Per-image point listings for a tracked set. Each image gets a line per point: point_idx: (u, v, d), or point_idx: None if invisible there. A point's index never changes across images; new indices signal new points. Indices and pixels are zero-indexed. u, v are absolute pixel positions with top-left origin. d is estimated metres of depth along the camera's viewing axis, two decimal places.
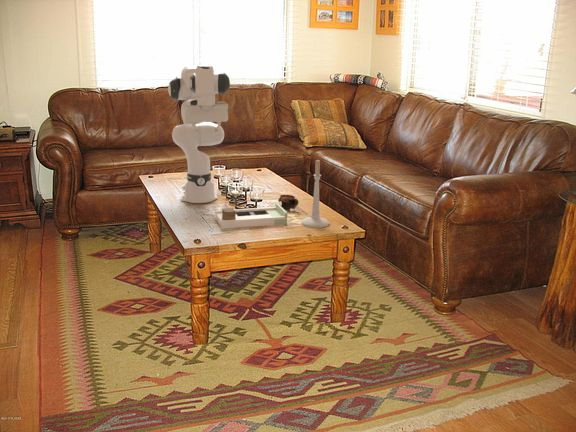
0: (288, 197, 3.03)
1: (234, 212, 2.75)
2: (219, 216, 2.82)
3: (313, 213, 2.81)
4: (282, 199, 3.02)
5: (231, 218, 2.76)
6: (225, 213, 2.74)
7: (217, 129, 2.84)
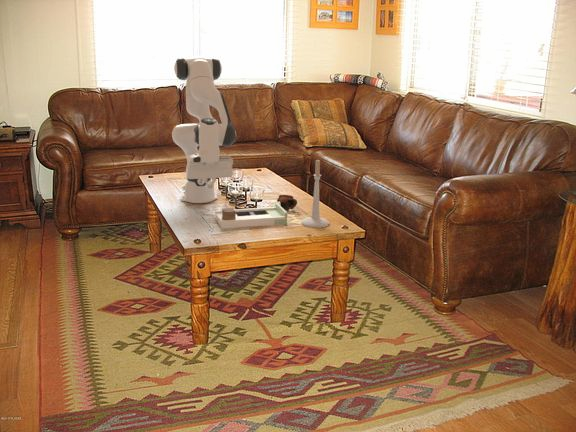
0: (287, 197, 3.02)
1: (234, 212, 2.75)
2: (219, 216, 2.82)
3: (313, 213, 2.81)
4: (281, 199, 3.02)
5: (231, 218, 2.76)
6: (225, 213, 2.74)
7: (212, 185, 2.70)
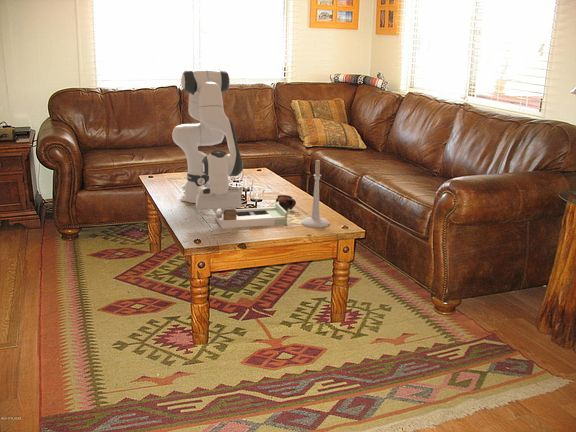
0: (285, 197, 3.02)
1: (235, 212, 2.75)
2: None
3: (313, 213, 2.81)
4: (279, 199, 3.01)
5: (232, 218, 2.76)
6: (226, 213, 2.74)
7: (221, 215, 2.76)
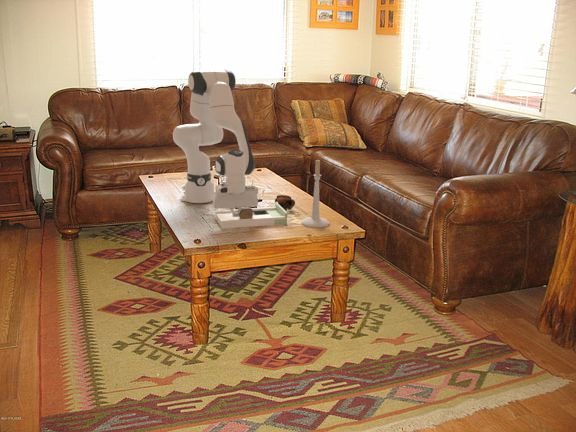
0: (284, 198, 3.02)
1: (251, 211, 2.77)
2: (219, 216, 2.82)
3: (313, 213, 2.81)
4: (278, 200, 3.01)
5: (248, 217, 2.78)
6: (242, 212, 2.76)
7: (237, 214, 2.78)
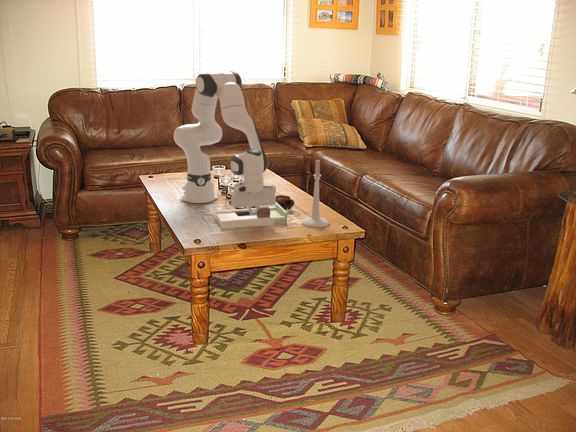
0: (284, 198, 3.01)
1: (269, 210, 2.80)
2: (219, 216, 2.82)
3: (313, 213, 2.81)
4: (278, 200, 3.01)
5: (266, 216, 2.80)
6: (260, 211, 2.79)
7: (255, 213, 2.80)
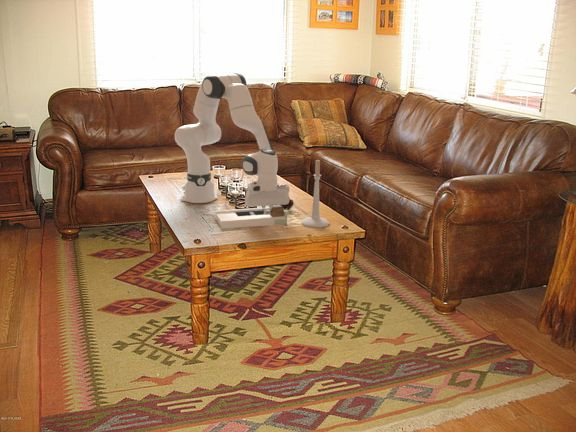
0: None
1: (282, 209, 2.82)
2: (219, 216, 2.82)
3: (313, 213, 2.81)
4: None
5: (279, 215, 2.82)
6: (274, 210, 2.80)
7: (269, 212, 2.82)
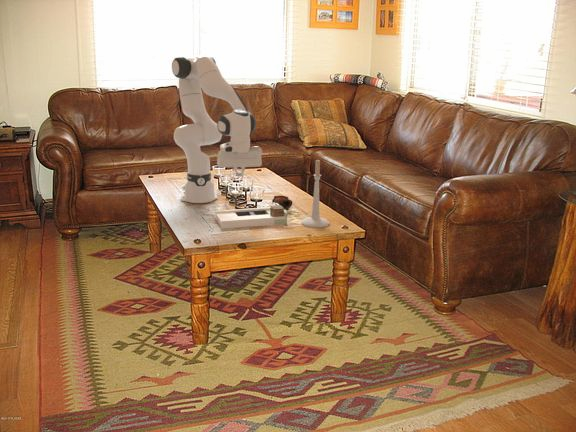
0: (282, 198, 3.01)
1: (282, 209, 2.82)
2: (219, 216, 2.82)
3: (313, 213, 2.81)
4: (276, 200, 3.00)
5: (279, 215, 2.82)
6: (274, 210, 2.80)
7: (241, 174, 2.82)
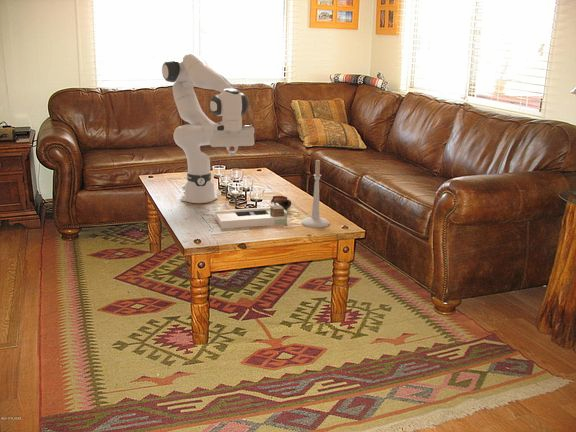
0: (281, 198, 3.00)
1: (282, 209, 2.82)
2: (219, 216, 2.82)
3: (313, 213, 2.81)
4: (275, 200, 3.00)
5: (279, 215, 2.82)
6: (274, 210, 2.80)
7: (234, 153, 2.81)
